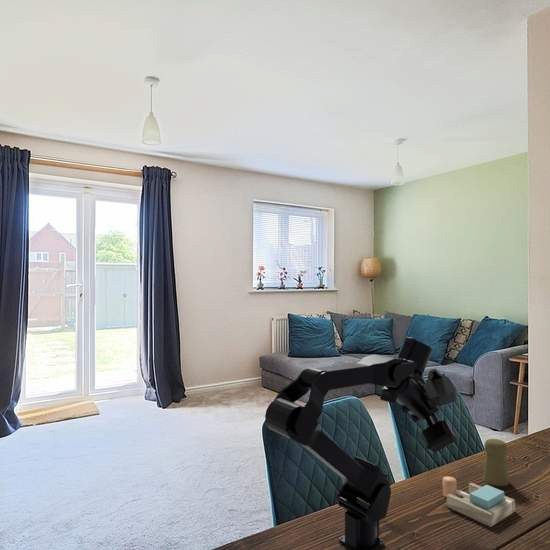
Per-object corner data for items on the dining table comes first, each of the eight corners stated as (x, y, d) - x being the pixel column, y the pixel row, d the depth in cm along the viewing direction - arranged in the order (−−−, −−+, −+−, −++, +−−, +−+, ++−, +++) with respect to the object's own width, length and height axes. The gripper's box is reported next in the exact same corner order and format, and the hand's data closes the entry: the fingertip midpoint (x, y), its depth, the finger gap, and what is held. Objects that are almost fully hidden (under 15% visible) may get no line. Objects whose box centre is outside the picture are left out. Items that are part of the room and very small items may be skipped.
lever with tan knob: (487, 524, 94) (487, 501, 94) (435, 500, 104) (435, 479, 104) (504, 513, 98) (504, 491, 98) (452, 491, 108) (452, 471, 108)
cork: (483, 476, 117) (483, 434, 117) (510, 482, 114) (510, 438, 114) (481, 486, 112) (481, 442, 111) (508, 492, 108) (508, 446, 108)
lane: (490, 531, 92) (490, 514, 92) (446, 510, 100) (446, 495, 100) (514, 515, 98) (514, 499, 98) (471, 497, 106) (471, 482, 106)
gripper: (460, 408, 87) (494, 443, 94) (423, 344, 102) (454, 379, 110) (411, 436, 90) (448, 469, 97) (382, 370, 105) (415, 402, 113)
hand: (442, 426), depth 104 cm, fingers open, 9 cm apart
